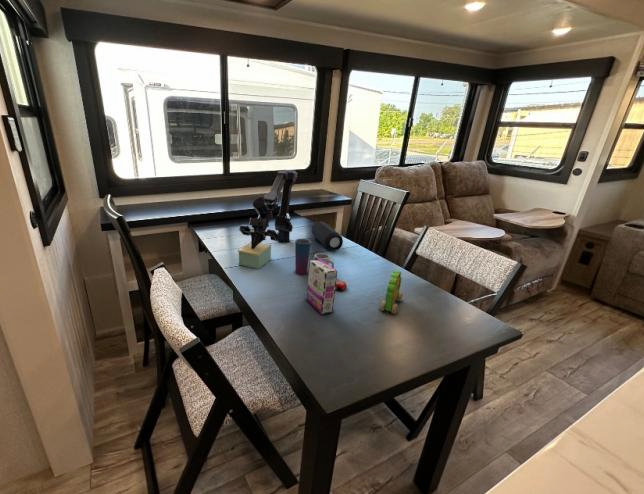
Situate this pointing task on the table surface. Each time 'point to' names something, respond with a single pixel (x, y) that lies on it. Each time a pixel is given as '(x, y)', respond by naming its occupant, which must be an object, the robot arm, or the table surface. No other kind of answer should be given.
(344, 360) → the table surface
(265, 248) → the lid
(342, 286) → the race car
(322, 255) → the mug
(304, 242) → the cup
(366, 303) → the table surface
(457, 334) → the table surface
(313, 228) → the portable speaker
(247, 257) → the green hinged box
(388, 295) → the green toy caterpillar
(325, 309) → the candy bar box
